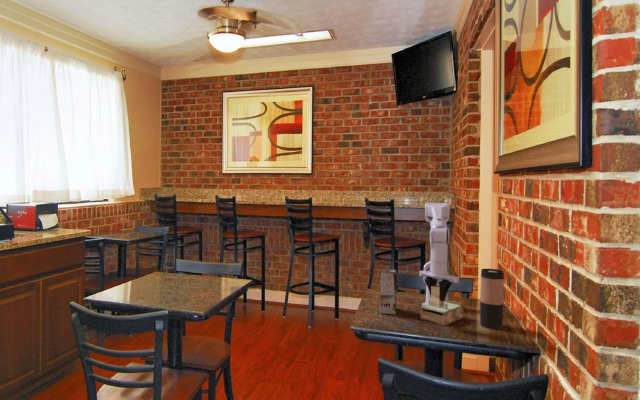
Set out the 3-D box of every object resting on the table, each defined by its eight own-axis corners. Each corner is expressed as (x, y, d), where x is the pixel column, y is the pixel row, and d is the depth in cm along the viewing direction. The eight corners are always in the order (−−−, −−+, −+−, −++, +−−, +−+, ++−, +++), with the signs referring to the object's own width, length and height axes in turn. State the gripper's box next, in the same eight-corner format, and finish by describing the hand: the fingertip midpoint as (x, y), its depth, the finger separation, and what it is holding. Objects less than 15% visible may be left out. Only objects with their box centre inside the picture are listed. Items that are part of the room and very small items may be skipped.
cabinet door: (438, 301, 150) (438, 295, 150) (460, 307, 143) (461, 300, 143) (421, 307, 141) (421, 300, 141) (444, 313, 135) (444, 306, 135)
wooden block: (435, 304, 137) (436, 285, 137) (443, 306, 134) (444, 286, 134) (430, 305, 134) (431, 286, 134) (438, 307, 132) (439, 288, 132)
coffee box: (396, 314, 146) (397, 273, 146) (379, 313, 147) (380, 272, 147) (396, 308, 155) (397, 269, 155) (380, 307, 156) (381, 268, 156)
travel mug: (474, 323, 137) (476, 269, 137) (490, 321, 140) (491, 268, 140) (491, 330, 130) (493, 273, 130) (507, 328, 133) (509, 271, 133)
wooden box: (439, 311, 151) (439, 298, 151) (462, 318, 144) (463, 303, 144) (420, 318, 142) (420, 304, 142) (444, 325, 134) (445, 310, 134)
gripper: (414, 259, 137) (414, 297, 137) (452, 265, 126) (451, 306, 126) (425, 258, 142) (424, 294, 142) (462, 263, 131) (461, 302, 131)
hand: (437, 299), depth 135 cm, fingers closed on wooden block, 3 cm apart
